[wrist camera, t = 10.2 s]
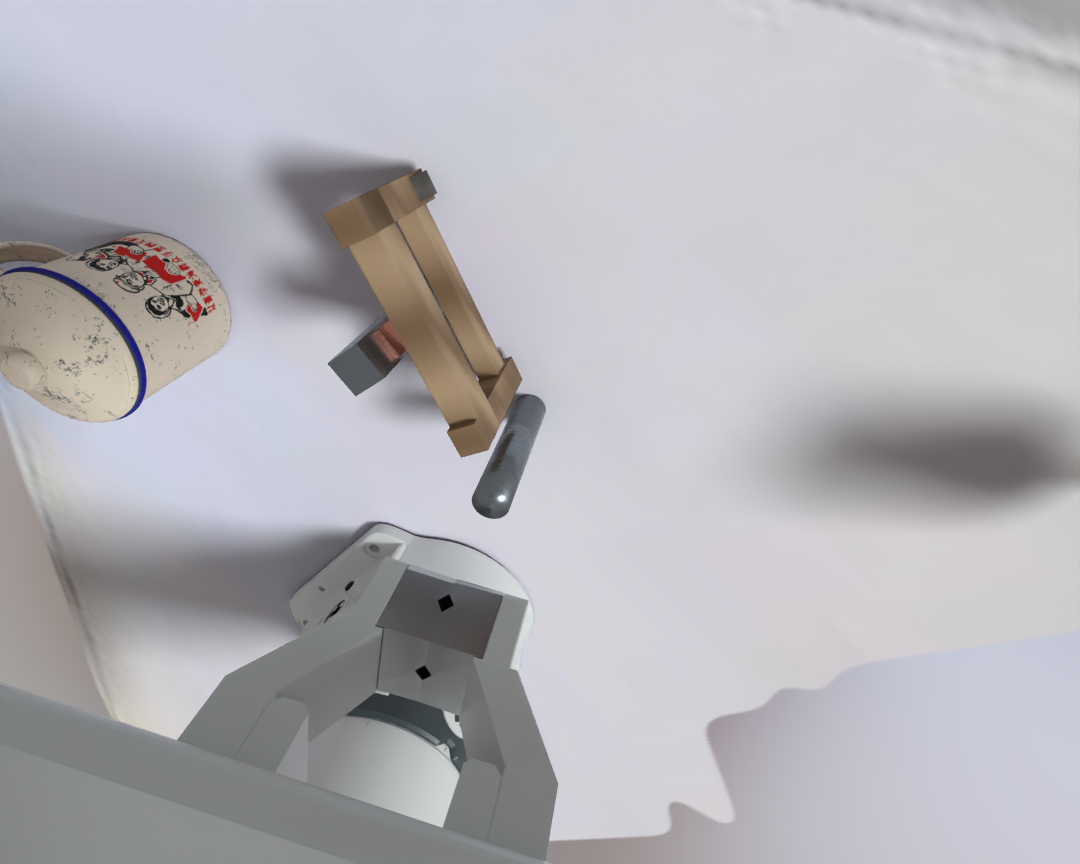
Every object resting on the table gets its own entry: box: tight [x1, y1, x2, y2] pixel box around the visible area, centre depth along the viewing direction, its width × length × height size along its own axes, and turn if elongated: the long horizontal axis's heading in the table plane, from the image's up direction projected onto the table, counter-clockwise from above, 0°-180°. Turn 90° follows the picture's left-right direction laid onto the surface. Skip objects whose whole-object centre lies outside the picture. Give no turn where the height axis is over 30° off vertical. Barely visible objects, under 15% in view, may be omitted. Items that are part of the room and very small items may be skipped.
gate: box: [323, 168, 522, 458], centre depth 32 cm, size 13×3×8 cm, turn 24°
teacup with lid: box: [0, 233, 231, 422], centre depth 35 cm, size 12×9×12 cm
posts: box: [327, 279, 546, 519], centre depth 34 cm, size 3×11×10 cm, turn 35°
